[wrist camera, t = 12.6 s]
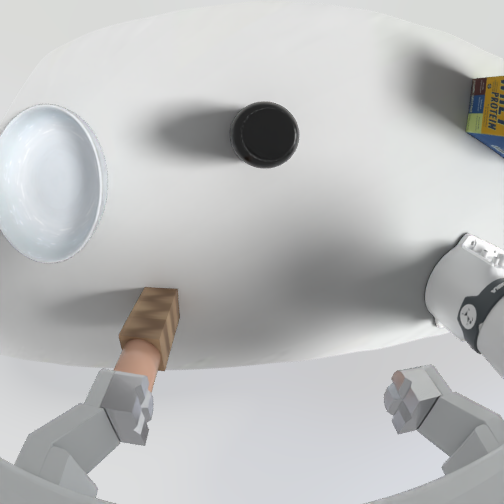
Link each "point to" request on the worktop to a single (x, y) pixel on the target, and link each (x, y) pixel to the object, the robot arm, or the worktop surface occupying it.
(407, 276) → the worktop surface
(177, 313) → the block bottom
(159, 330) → the block top
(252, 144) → the supplement bottle
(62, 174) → the serving bowl
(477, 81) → the protein box
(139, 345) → the cylinder
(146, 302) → the block middle
